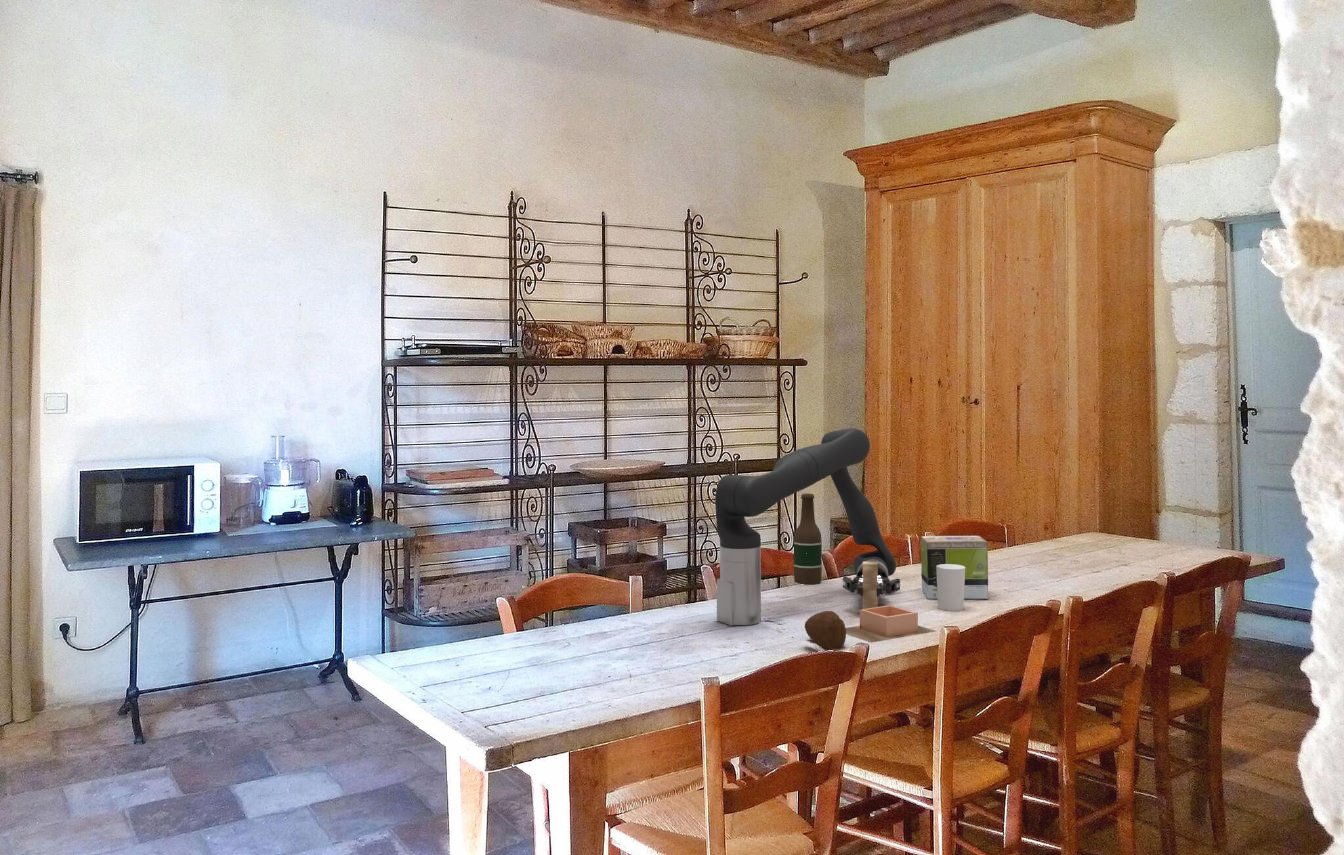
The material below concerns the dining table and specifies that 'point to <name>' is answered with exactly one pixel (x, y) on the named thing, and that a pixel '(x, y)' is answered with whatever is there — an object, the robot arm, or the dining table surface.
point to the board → (874, 637)
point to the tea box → (956, 552)
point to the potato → (826, 630)
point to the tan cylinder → (870, 584)
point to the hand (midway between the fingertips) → (869, 591)
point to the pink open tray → (888, 620)
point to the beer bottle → (807, 545)
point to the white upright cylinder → (950, 586)
